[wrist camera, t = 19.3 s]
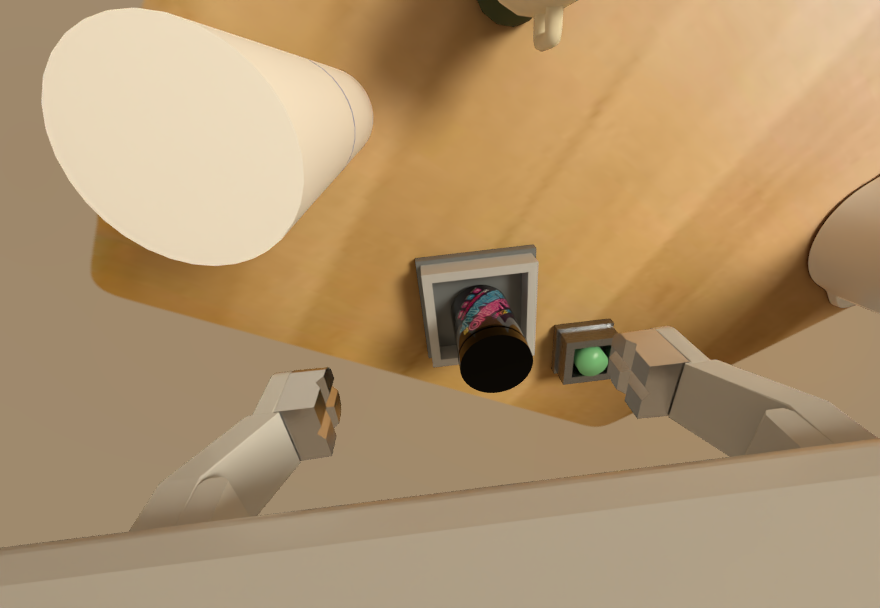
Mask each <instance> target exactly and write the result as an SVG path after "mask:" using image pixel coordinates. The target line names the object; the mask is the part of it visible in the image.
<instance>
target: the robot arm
mask: <svg viewBox="0 0 880 608" xmlns="http://www.w3.org/2000/svg"><path fill="white" fill-rule="evenodd" d="M808 267H809V273H810V275H811V277H812V279H813V280H814V282H815V283H816V284H818V285H819V286H821V287H822V288H824V289H825V290H826V291H827V294H828V298H829V301H830V303H831V304H832V305H835V306H837V307H840V308H847V307H851V306H855V305H858V306H861V307H863V308H865V309H868V310H871V311H873V312H876V313H878V314H880V176H879V177H878V178H876V179H875V180H873V181H872V182H870V183H868V184H867V185H865V186H863V187H862V188H861V189H859V190H858V191H856V192H855V193H854V194H852V195H851V196H850V197H849V198H847V199H846V200H845V201H844V202H843V203H842V204H841V205H840V206H839V207H838V208H837V209H836V210H835V211H834V212H833V213H832V214H831V215H830V217H829V218H828V219H827V220H826V222H825V223H824V224H823V226H822V227H821V229H820V230H819V232H818V234H817V236H816V238H815V240H814V242H813V244H812V247H811V250H810V254H809V260H808ZM611 345H612V346H613V348H614V349H615V350H616V351H615V352H614V353H613V354H612V355H611V356H610V357H609V363H608V369H609V376H610V378H611V381H612V383H613V384H614V386H615V387H616V389H617V390H619V391H621V392H623V393H625V394H626V397H625V402H626V403H627V405H628V406H629V407H630V409H631V410H632V412H633V413H634V415H635V416H636V417H637V419H638V418H648V417H660V416H669V418H671V419H672V420H674V421H676V422H677V423H679V424H680V425H682V426H683V427H685V428H687V429H688V430H689V431H691V432H693V433H694V434H695V435H697V436H699V437H700V438H702V439H703V440H705V441H706V442H708V443H709V444H711V445H712V446H714V447H716V448H717V449H719V450H720V451H722V452H723V453H725V454H727V455H728V456H729V457H725V458H717V459H709V460H701V461H693V462H685V463H677V464H669V465H661V466H653V467H645V468H637V469H629V470H621V471H613V472H604V473H596V474H588V475H580V476H572V477H564V478H556V479H548V480H540V481H532V482H524V483H516V484H508V485H500V486H492V487H484V488H475V489H467V490H460V491H451V492H444V493H436V494H427V495H420V496H412V497H403V498H395V499H387V500H379V501H372V502H363V503H355V504H347V505H339V506H331V507H323V508H315V509H308V510H300V511H291V512H283V513H275V514H267V515H260V516H257V515H258V514H259V513H260V511H261V510H262V509H263V508H264V507H265V505H266V504H267V503H268V502H269V501H270V499H271V498H272V497H273V496H274V494H275V493H276V492H277V491H278V490H279V488H280V487H281V486H282V485H283V483H284V482H285V481H286V480H287V478H288V477H289V476H290V475H291V474H292V472H293V471H294V470H295V469H296V467H297V466H298V465H299V464H300V461H302V460H309V459H316V458H322V457H329V456H332V454H333V449H334V445H335V440H336V433H335V431H334V428H335V426H337V424H339V421H340V416H341V402H340V396H339V393H338V390H337V389H335V388H334V387H333V386H332V384H333V380H334V377H333V374H332V371H331V369H329V368H328V367H326V368H316V369H305V370H296V371H287V372H278V373H275V374H273V375H272V376H271V378H270V380H269V383H268V384H267V386H266V388H265V391H264V393H263V395H262V397H261V399H260V401H259V403H258V405H257V407H256V409H255V411H254V413H253V415H252V416H246V417H245V418H244V419H242V420H241V421H240V422H238V423H237V424H236V425H235V426H233V427H232V428H231V429H229V430H228V431H227V432H225V433H224V434H223V435H222V436H220V437H219V438H218V439H216V440H215V441H214V442H212V443H211V444H210V445H209V446H207V447H206V448H205V449H203V450H202V451H201V452H199V453H198V454H197V455H196V456H194V457H193V458H192V459H190V460H189V461H188V462H186V463H185V464H184V465H183V466H181V467H180V468H179V469H178V470H176V471H175V472H174V473H172V474H171V475H170V476H168V477H167V478H166V479H165V480H163V481H162V482H161V483H160V484H159V485H158V487H157V488H156V490H155V492H154V493H153V495H152V496H151V498H150V499H149V501H148V502H147V504H146V505H145V507H144V508H143V510H142V512H141V513H140V515H139V516H138V518H137V519H136V521H135V523H134V524H133V526H132V527H131V529H130V530H129V532H124V533H123V532H122V533H114V534H106V535H98V536H91V537H82V538H74V539H66V540H59V541H50V542H42V543H35V544H27V545H19V546H10V547H2V548H0V608H880V438H877V437H876V436H874V435H873V434H872V433H871V432H869V431H868V430H866V429H865V428H864V427H862V426H861V425H860V424H858V423H857V422H855V421H854V420H853V419H852V418H850V417H849V416H848V415H846V414H845V413H843V412H842V411H841V410H839V409H838V408H837V407H835V406H834V405H833V404H831V403H830V402H829V401H826V400H823V399H821V398H818V397H815V396H812V395H810V394H807V393H805V392H802V391H799V390H796V389H794V388H791V387H789V386H786V385H783V384H781V383H778V382H775V381H772V380H770V379H767V378H765V377H762V376H759V375H757V374H754V373H751V372H749V371H746V370H743V369H741V368H738V367H735V366H733V365H730V364H727V363H725V362H722V361H719V360H716V359H715V360H710V359H709V358H708V357H706V356H705V355H704V354H703V353H702V352H701V351H700V350H699V349H697V348H696V347H695V346H694V345H693V344H692V343H691V342H689V341H688V340H687V339H686V338H685V337H684V336H683V335H682V334H680V333H679V332H678V331H677V330H676V329H675V328H673V327H671V326H663V327H656V328H651V329H645V330H637V331H629V332H621V333H615V335H614V337H613V339H612V344H611Z"/></svg>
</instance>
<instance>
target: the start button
mask: <svg viewBox="0 0 880 608" xmlns="http://www.w3.org/2000/svg"><path fill="white" fill-rule="evenodd" d="M573 362H574V363H575V365H576V367H577V368H578V370H579V372H580V373H581V374H582V375H585V376H594V375H597V374H599V373H601V372H602V371H604V370H605V368H606V367H607V365H608V358H607V356H606V355H605V354H604V352H603V351H602V350H601V348H600V347H599V346H598V347H589V348H581V349H575V352H574V361H573Z"/></svg>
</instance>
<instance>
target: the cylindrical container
mask: <svg viewBox="0 0 880 608" xmlns="http://www.w3.org/2000/svg"><path fill="white" fill-rule="evenodd" d="M41 104H42V110H43V115H44V122H45V128H46V132H47V135H48V137H49V140H50V143H51V145H52V148H53V151H54V153H55V156H56V158H57V160H58V162H59V163H60V165H61V167H62V168H63V170H64V172H65V174H66V176H67V177H68V179H69V180H70V182H71V184H72V185H73V186H74V187H75V189H76V190H77V191H78V193H79V194H80V195H81V196H82V198H83V199H84V200H85V202H86V203H87V204H88V205H89V206H90V207H91V208H92V209H93V210H94V211H95V212H96V213H97V214H98V215H99V216H100V217H101V218H102V219H103V220H104V221H106V222H107V223H108V224H110V225H111V226H112V227H114V228H115V229H116V230H117V231H119V232H120V233H121V234H123V235H124V236H125V237H127V238H129V239H131V240H132V241H134V242H136V243H137V244H139V245H141V246H143V247H144V248H146V249H148V250H150V251H153V252H155V253H158V254H160V255H163V256H165V257H168V258H170V259H174V260H178V261H182V262H186V263H190V264H196V265H210V266H220V265H229V264H237V263H240V262H244V261H247V260H250V259H253V258H255V257H257V256H259V255H261V254H263V253H264V252H266V251H268V250H269V249H271V248H272V247H273V246H274V245H275V244H276V243H278V242H279V241H280V240H281V239H282V238H283V237H284V236H285V235H286V234H287V232H288V231H289V230H290V229H291V228H292V227H293V226H294V224H295V223H296V222H297V221H298V220H299V219H300V218H301V216H302V215H303V214H304V213H305V212H306V211H307V210H308V208H309V207H310V206H311V205H312V204H313V203H314V202H315V200H316V199H317V198H318V197H319V196H320V195H321V194H322V193H323V191H324V190H325V189H326V188H327V187H328V186H329V185H330V184H331V183H332V181H333V180H334V179H335V178H336V177H337V176H338V175H339V174H340V172H341V171H342V170H343V169H344V168H345V167H346V166H347V164H348V163H349V162H350V161H351V160H352V159H353V158H354V156H355V155H356V154H357V153H358V152H359V151H360V150H361V149H362V148H363V146H364V145H365V144H366V142H367V141H368V139H369V137H370V135H371V132H372V127H373V110H372V105H371V102H370V99H369V97H368V95H367V93H366V91H365V90H364V88H363V87H362V86H361V84H360V83H359V82H358V81H357V80H356V79H355V78H354V77H352V76H351V75H349V74H348V73H346V72H344V71H342V70H339V69H336V68H333V67H330V66H327V65H324V64H321V63H318V62H315V61H312V60H309V59H306V58H303V57H300V56H297V55H294V54H291V53H288V52H285V51H282V50H279V49H276V48H273V47H270V46H267V45H264V44H261V43H258V42H255V41H252V40H249V39H246V38H243V37H240V36H237V35H234V34H231V33H228V32H224V31H221V30H218V29H215V28H212V27H209V26H206V25H203V24H200V23H197V22H194V21H191V20H188V19H185V18H182V17H179V16H176V15H173V14H170V13H166V12H161V11H154V10H147V9H140V8H126V9H116V10H106V11H104V12H101V13H98V14H96V15H93V16H90V17H88V18H85V19H83V20H82V21H81V22H79V23H78V24H77V25H75V26H74V27H72V28H71V29H70V30H68V31H67V32H66V33H65V34H64V35H63V37H62V38H61V40H60V41H59V42H58V44H57V45H56V46H55V48H54V49H53V51H52V52H51V55H50V58H49V60H48V63H47V66H46V69H45V72H44V75H43V85H42V100H41Z"/></svg>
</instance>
